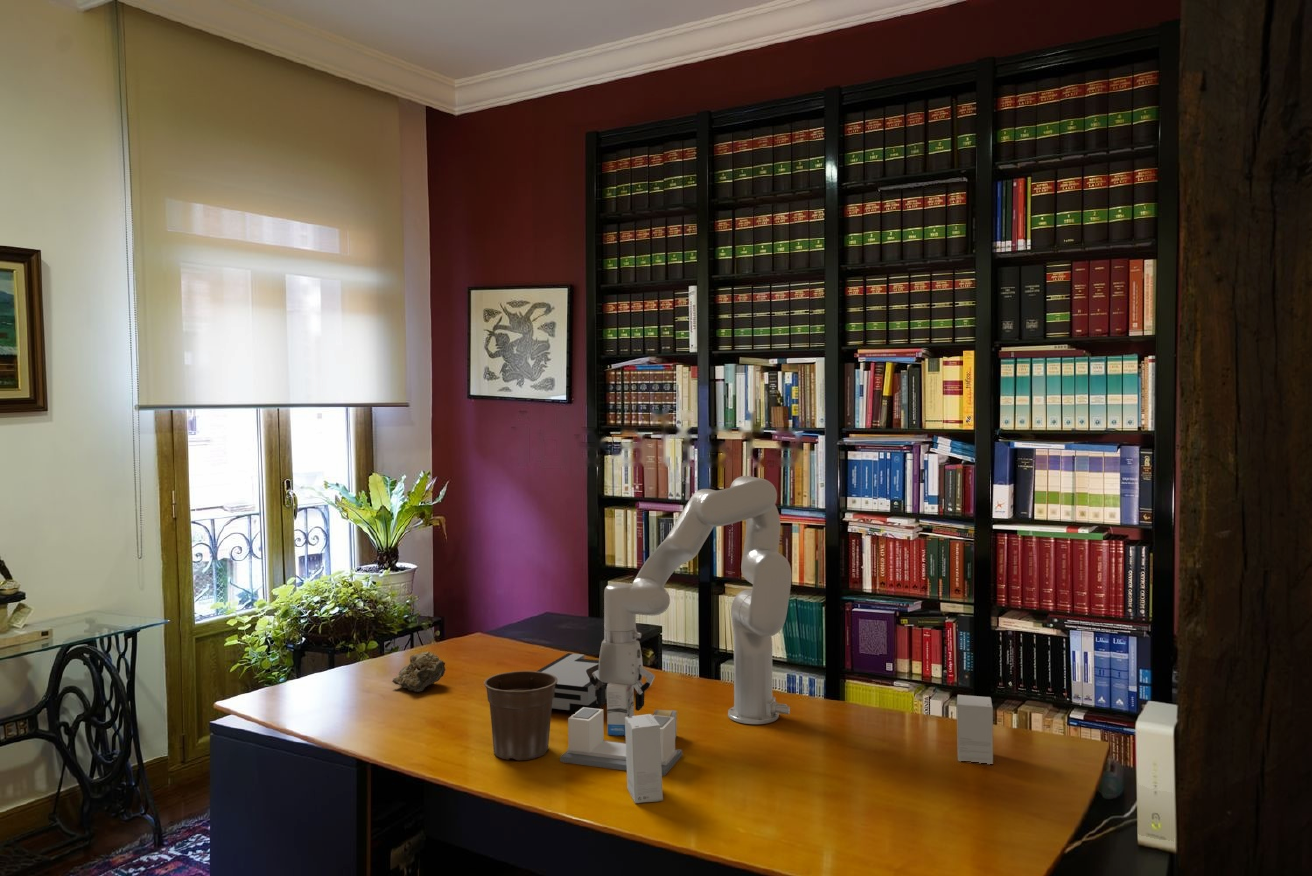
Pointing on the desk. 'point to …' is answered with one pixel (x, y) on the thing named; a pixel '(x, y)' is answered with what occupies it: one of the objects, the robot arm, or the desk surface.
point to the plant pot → (520, 713)
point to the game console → (573, 683)
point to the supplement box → (975, 729)
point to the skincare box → (643, 758)
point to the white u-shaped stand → (611, 742)
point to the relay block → (670, 714)
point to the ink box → (619, 707)
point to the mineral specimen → (420, 672)
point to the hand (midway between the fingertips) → (620, 707)
